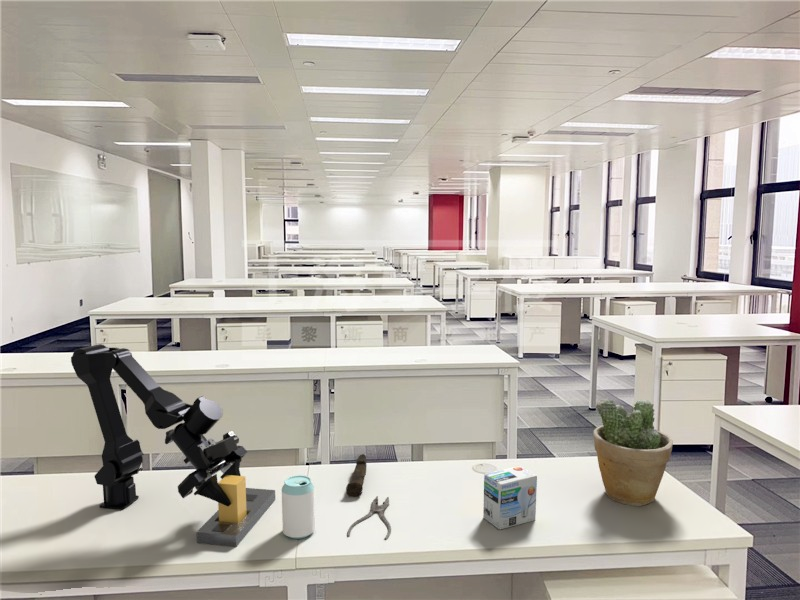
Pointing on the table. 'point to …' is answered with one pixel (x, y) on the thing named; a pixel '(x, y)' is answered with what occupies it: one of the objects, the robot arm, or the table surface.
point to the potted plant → (630, 452)
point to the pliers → (373, 510)
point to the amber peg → (233, 499)
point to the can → (298, 507)
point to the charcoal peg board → (236, 532)
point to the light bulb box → (509, 497)
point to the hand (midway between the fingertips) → (237, 499)
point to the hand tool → (357, 478)
